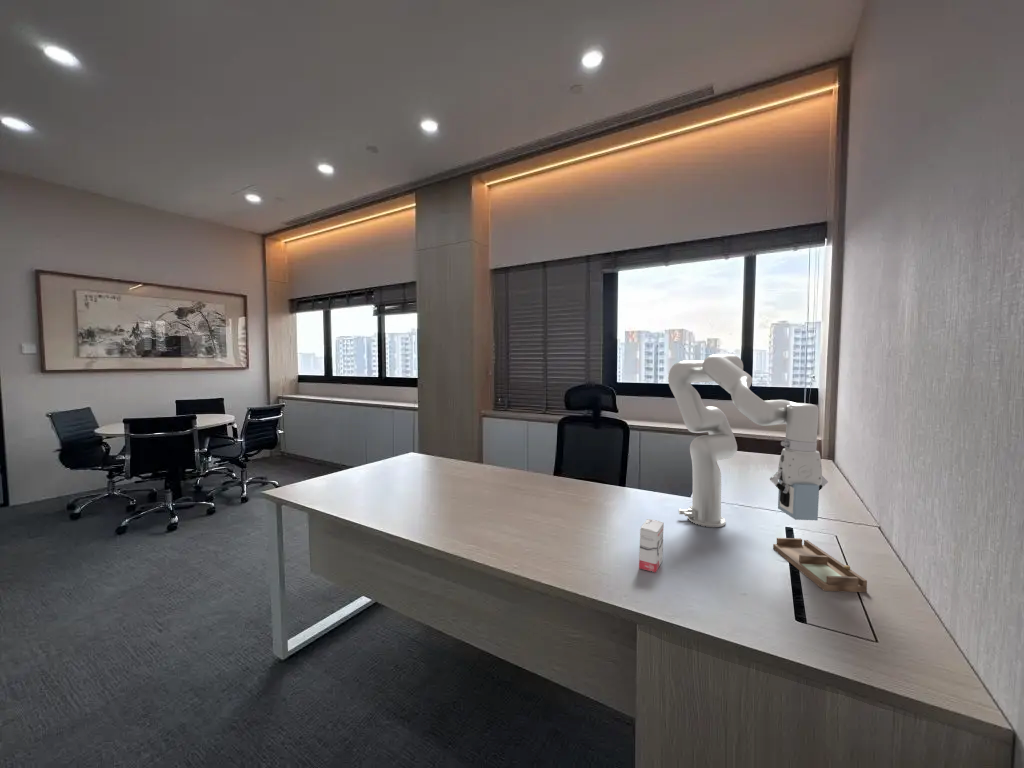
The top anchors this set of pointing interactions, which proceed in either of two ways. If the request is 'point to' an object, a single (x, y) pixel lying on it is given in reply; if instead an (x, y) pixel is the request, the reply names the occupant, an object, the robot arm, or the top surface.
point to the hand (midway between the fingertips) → (797, 505)
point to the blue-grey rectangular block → (801, 502)
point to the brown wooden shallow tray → (820, 566)
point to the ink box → (651, 545)
